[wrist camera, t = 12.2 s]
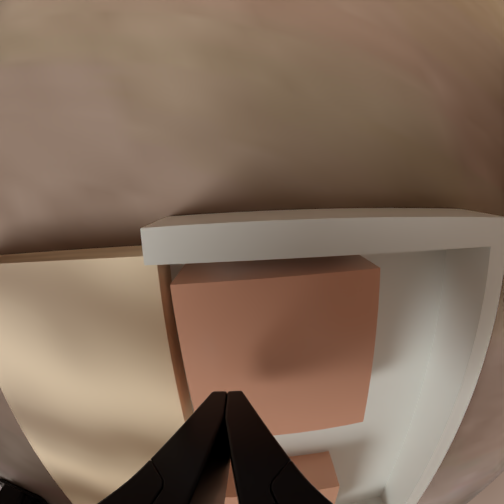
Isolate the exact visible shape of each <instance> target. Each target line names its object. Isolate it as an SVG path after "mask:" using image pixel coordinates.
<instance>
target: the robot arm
mask: <svg viewBox="0 0 504 504" xmlns="http://www.w3.org/2000/svg"><path fill="white" fill-rule="evenodd" d="M230 460H231V466H232V472H233V478H234V484H235V489H236V495H237V500H238V504H333V503H332V502H331V501H329V500H328V499H327V498H326V497H325V496H324V495H323V494H321V493H320V492H319V491H318V490H317V489H316V488H315V487H314V486H313V485H312V484H311V483H310V482H309V481H308V480H307V479H306V477H305V476H304V475H303V474H302V473H301V472H300V470H299V469H298V468H297V467H296V465H295V464H294V463H293V461H291V459H290V458H289V456H288V455H287V454H286V452H285V451H284V450H283V448H282V447H281V446H280V444H279V443H278V441H277V440H276V439H275V437H274V436H273V435H272V433H271V432H270V430H269V429H268V428H267V426H266V425H265V423H264V422H263V421H262V419H261V418H260V416H259V415H258V413H257V412H256V411H255V409H254V408H253V406H252V405H251V403H250V402H249V400H248V399H247V397H246V396H245V394H244V393H243V392H242V391H229V392H228V393H227V392H226V391H213V392H212V393H211V394H210V395H209V396H208V397H207V398H206V399H205V400H204V402H203V403H202V404H201V405H200V406H199V407H198V408H197V409H196V411H195V412H194V413H193V414H192V415H191V416H190V417H189V418H188V419H187V421H186V422H185V423H184V424H183V425H182V426H181V427H180V428H179V429H178V430H177V431H176V432H175V434H174V435H173V436H172V437H171V438H170V439H169V440H168V441H167V442H166V443H165V444H164V445H163V446H162V447H161V448H160V449H159V451H158V452H157V453H156V454H155V455H154V456H153V457H152V458H151V460H149V461H148V462H147V463H146V464H145V465H144V466H143V467H142V468H141V469H140V470H139V471H138V472H137V473H136V474H134V475H133V476H132V477H131V478H130V479H129V480H128V481H127V482H125V483H124V484H123V485H122V486H120V487H119V488H118V489H117V490H115V491H114V492H112V493H111V494H110V495H108V496H107V497H106V498H104V499H103V500H101V501H100V502H99V503H97V504H224V503H225V496H226V489H227V482H228V474H229V467H230ZM0 486H1V487H2V489H1V490H0V504H47V503H46V502H45V501H44V500H43V499H42V498H41V497H39V496H37V495H35V494H32V493H30V492H28V491H25V490H23V489H21V488H19V487H17V486H14V485H12V484H10V483H8V482H6V481H4V480H2V479H0Z"/></svg>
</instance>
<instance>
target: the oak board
mask: <svg viewBox="0 0 504 504" xmlns="http://www.w3.org/2000/svg"><path fill="white" fill-rule="evenodd" d="M171 283H172V278H171V269H170V264H166V265H144V259H143V250H142V245H139V246H122V247H107V248H91V249H76V250H61V251H47V252H33V253H20V254H7V255H0V388H1V390H2V392H3V394H4V396H5V398H6V400H7V403H8V405H9V407H10V409H11V411H12V412H13V414H14V416H15V418H16V420H17V422H18V424H19V426H20V427H21V429H22V431H23V433H24V434H25V436H26V438H27V439H28V441H29V443H30V444H31V446H32V448H33V449H34V451H35V452H36V454H37V456H38V457H39V459H40V460H41V462H42V463H43V465H44V466H45V468H46V469H47V471H48V472H49V473H50V475H51V476H52V478H53V479H54V480H55V482H56V483H57V484H58V486H59V487H60V488H61V490H62V491H63V492H64V494H65V495H66V496H67V497H68V499H69V500H70V501H71V502H72V503H73V504H97V503H99V502H100V501H101V500H103V499H104V498H106V497H107V496H108V495H110V494H111V493H112V492H114V491H115V490H117V489H118V488H119V487H120V486H122V485H123V484H124V483H125V482H127V481H128V480H129V479H130V478H131V477H132V476H133V475H134V474H136V473H137V472H138V471H139V470H140V469H141V468H142V467H143V466H144V465H145V464H146V463H147V462H148V461H149V460H151V458H152V457H153V456H154V455H155V454H156V453H157V452H158V451H159V449H160V448H161V447H162V446H163V445H164V444H165V443H166V442H167V441H168V440H169V439H170V438H171V437H172V436H173V435H174V434H175V432H176V431H177V430H178V429H179V428H180V427H181V426H182V425H183V424H184V423H185V422H186V421H187V419H188V418H189V417H190V416H191V415H192V414H193V410H192V405H191V400H190V395H189V390H188V384H187V379H186V373H185V368H184V362H183V357H182V352H181V347H180V342H179V336H178V331H177V325H176V319H175V313H174V307H173V301H172V295H171V288H170V284H171Z"/></svg>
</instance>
